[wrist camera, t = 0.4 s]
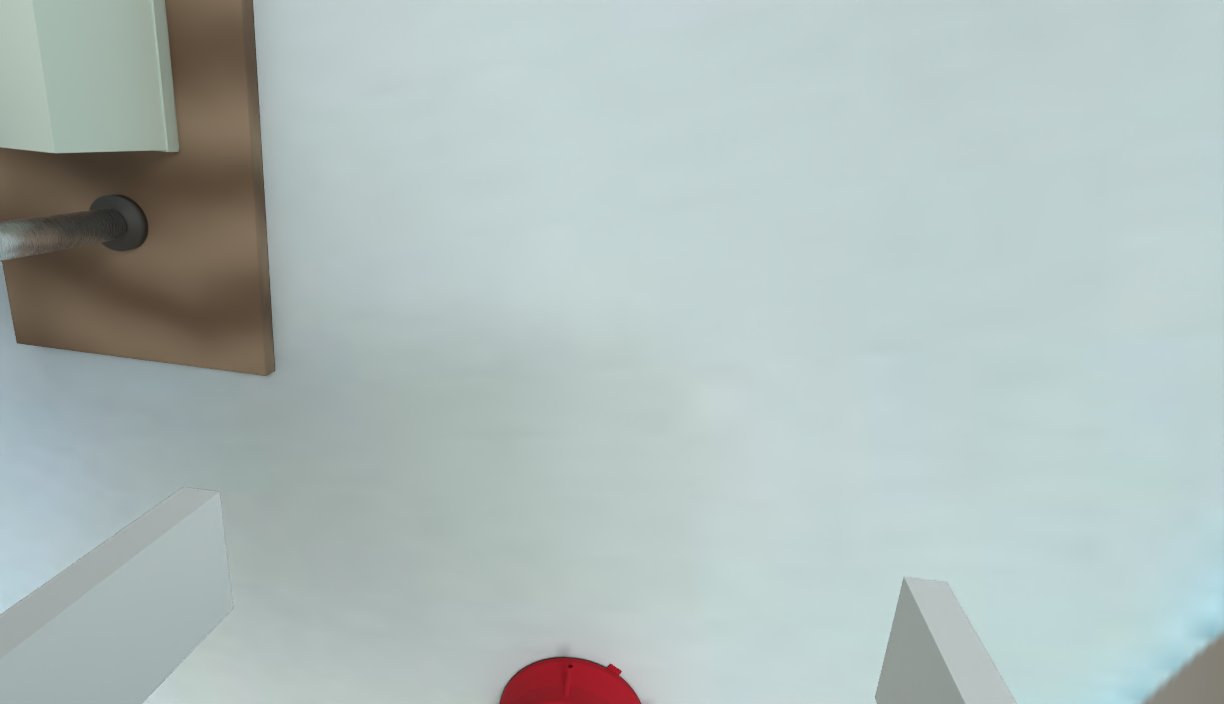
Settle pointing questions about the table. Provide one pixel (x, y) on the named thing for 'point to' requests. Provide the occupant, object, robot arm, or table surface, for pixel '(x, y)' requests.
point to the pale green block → (86, 76)
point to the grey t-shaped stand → (59, 232)
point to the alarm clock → (568, 684)
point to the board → (160, 220)
